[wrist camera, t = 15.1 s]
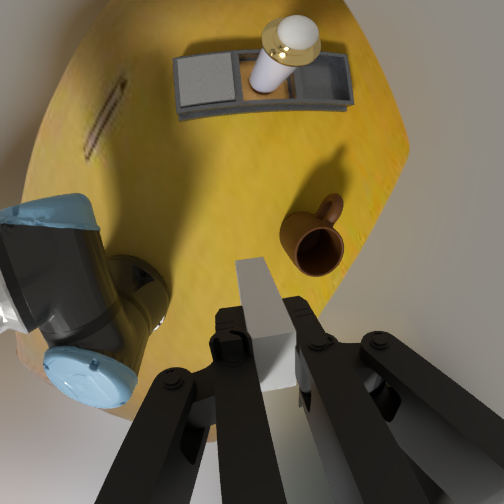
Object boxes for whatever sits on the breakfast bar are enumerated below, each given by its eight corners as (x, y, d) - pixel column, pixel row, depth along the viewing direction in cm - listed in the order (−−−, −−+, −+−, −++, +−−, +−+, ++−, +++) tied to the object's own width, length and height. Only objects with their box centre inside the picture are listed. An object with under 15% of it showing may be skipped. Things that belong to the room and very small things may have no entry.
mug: (300, 178, 41) (321, 185, 33) (339, 196, 43) (367, 208, 34) (270, 246, 45) (284, 269, 36) (310, 260, 46) (330, 284, 38)
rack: (180, 121, 36) (174, 117, 31) (175, 63, 32) (170, 52, 28) (343, 112, 38) (358, 108, 33) (336, 58, 35) (349, 49, 30)
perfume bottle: (272, 104, 36) (320, 64, 17) (237, 87, 34) (256, 30, 15) (289, 75, 34) (345, 22, 16) (255, 58, 33) (287, -10, 14)
